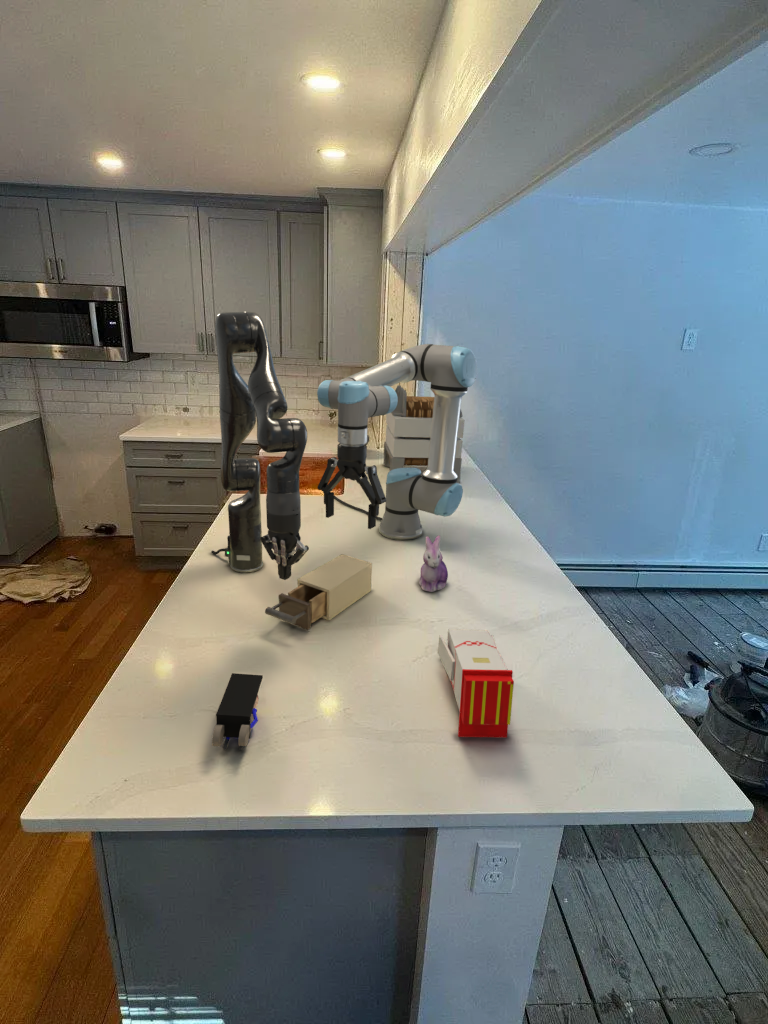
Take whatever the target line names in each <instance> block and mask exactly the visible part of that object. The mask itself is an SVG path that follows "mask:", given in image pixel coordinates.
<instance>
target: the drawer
mask: <svg viewBox="0 0 768 1024" xmlns="http://www.w3.org/2000/svg"><path fill="white" fill-rule="evenodd" d="M264 613H265V615H267V616H270V617H272V618H274V619H278V620H280V621H283V622H285V623H287V624H291V625H294V626H296V627H299V628H301V629H303V630H306V631H308V630H311V628H312V627H311V625H312V624H313V623H315V622H316V621H318V620H319V619H322V618H321V617H322V616H323V615H325V614H326V613H327V592H325V591H322V590H319V589H316V588H313V587H310V586H307V585H304V584H302V585H300V586H298V587H295V588H294V589H291V590H290V591H288V592H287V594H285V593H283V592H282V593H280V594H278V603H277V604H274V605H273V606H272V607H270V606H267V607H266V608H265V609H264Z"/></svg>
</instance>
